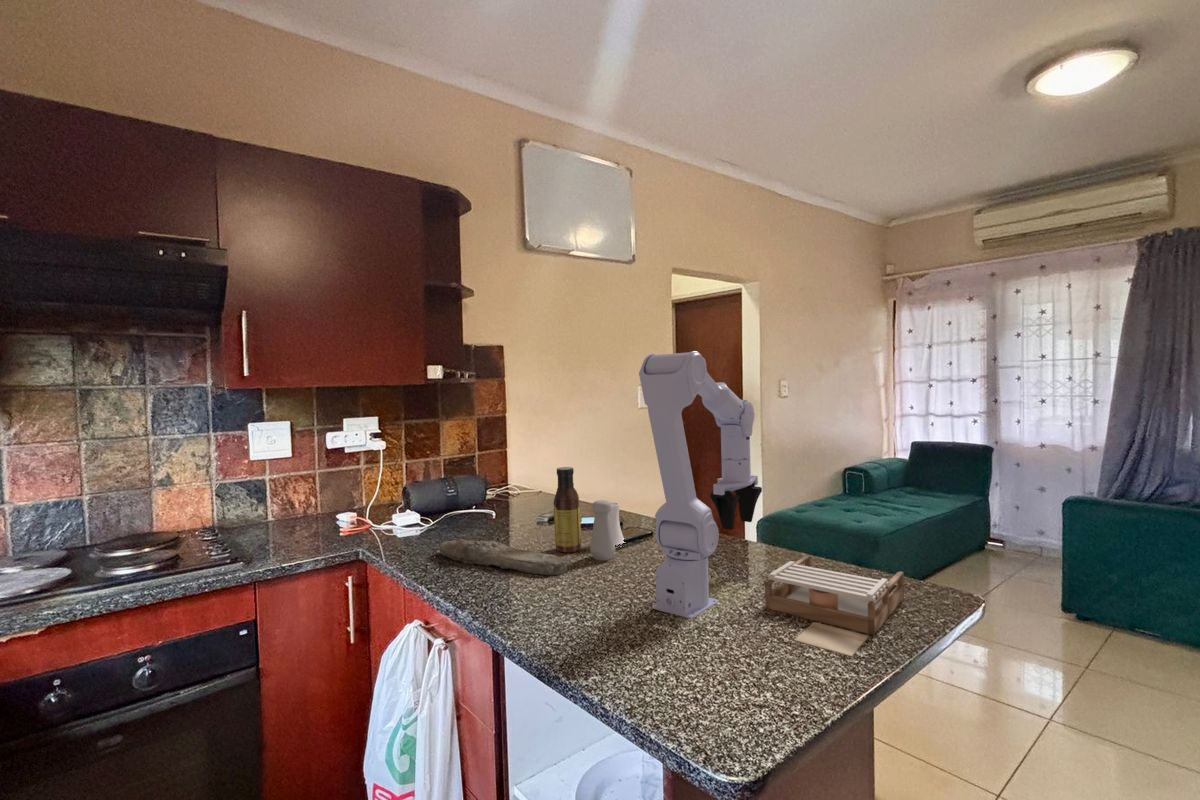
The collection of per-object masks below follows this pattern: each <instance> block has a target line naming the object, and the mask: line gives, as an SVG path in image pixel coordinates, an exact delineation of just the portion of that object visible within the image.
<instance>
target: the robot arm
mask: <svg viewBox="0 0 1200 800" xmlns="http://www.w3.org/2000/svg"><path fill="white" fill-rule="evenodd" d="M642 361H643V362H642V364H641V366H640V369H639V371H638V376H639V380H640V386H641V391H642V396H643V401H644V405H645V406H647V412H648V417H649V422H650V428H651V432H652V437H653V442H654V447H655V454H656V459H657V462H658V468H659V472H660V473H659V474H660V479H661V482H662V483H661V484H662V489H663V493H664V497H665V498H664V499H665V502H664V503H663V504H662V505H661V506H660V507H659V508H658V509H657V511H656V513H655V514H654V517H655V532H654V535H655V539H656V542H657V545H658V546H659V547H660V548H662V554H663V555H665V559H664V561H663V562H662V563H661V564H659V566H658V567H657V568H656V571H655V599H656V600H655V601H656V602H655V603H654V604H652V607H651V608H652V609H653V610H656V611H660V612H662V613H663V612H664V613H666V614H671V615H675V616H676V615H677V616H679V617H683V618H687V619H693V618H695V617H696V616H699V615H701V614H702V613H703V612H705V611H707V610H708V609H710V608H711V607H713V606H715V605H717V604H718V603H719V602H720V601H719V599H716V598H713V597H710V591H709V590H710V588H709V580H710V579H709V557H710V556H712V554H713V553H714V552H715V551H716V549H717V546H718V543H719V540H720V539H719V537H720V536H719V535H720V532H719V528H718V527H719V526H718V525H717V522H715V519H714V517H713V513H712V509H711V508H710V507H709V506H707V505H706V504H705V503H704V502H702V501H701V499H699V498H698V497H697V492H696V488H695V482H694V476H693V470H692V466H691V460H690V455H689V450H688V443H687V439H686V437H687V436H686V434H685V428H684V427H685V426H684V421H683V416H682V412H683V410H684V409H685V408H686V407H688V406H690V405H692V404H693V402H694V400H695V399H696V397H697V395H698V396H700V397H701V402H702V404H703V406H704V408H705V409H707V410H708V411H709V412H711V414H712V416H713V417H714V421H715V423H716V425H717V427H719V428H720V446H721V447H720V448H721V450H720V452H721V453H720V454H721V477H720V478H717V479H716V481H717V483H714V484H712V487H713V488H712V489H713V492H710V495H709V496H710V497H709V498H710V500H711V501H712V502H713V504H714V506H715V508H716V510H717V513H718V517H719V520H720V523H721V528H722V529H724V530H729V531H730V530H731V531H732V530H734V527H735V526H734V525H735V517H736V509H737V505H738V509H739V517H740V520H741V522H745V523H752V522H753V519H754V514H755V509H756V505H757V502H758V500H759V497H760V495H761V493H762V492H763V491H762V490H763V487H761V486H758V485H759V481H758V479H759V478H758V475H753V474H752V473H751V472H752V471H751V467H752V466H751V437H750V436H752V435H753V426H754V423H755V409H754V406H753V404H752V403H751V402H749V401H748V400H747V399H741V398H739V396H737V394H735V392H733V390H732V389H730V387H728V386H727V383H725V382H723V381H721V382H716V381H715V380H714V379H713V378H712V377H711V375H710V374H709V372H708V369H707V361H706V359H705V357H703V356H702V353H700V352H699V351H696V350H692V351H688V352H680V353H679V352H677V353H676V352H675V353H664V354H663V353H662V354H654V353H651V354H648V355H647V356H646V357H644V360H642ZM732 492H735V495H734V494H733V493H732Z"/></svg>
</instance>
